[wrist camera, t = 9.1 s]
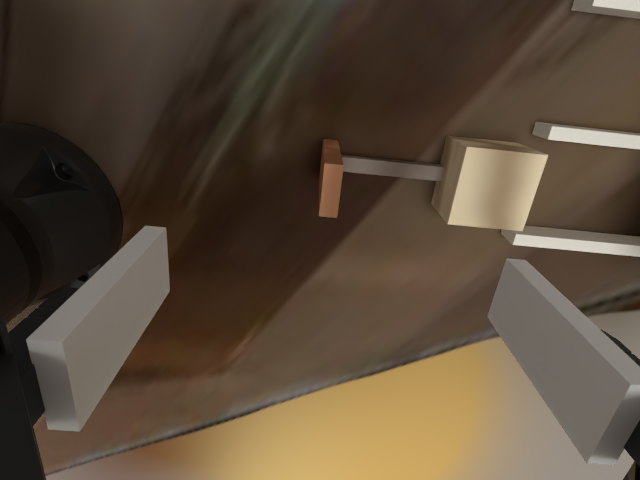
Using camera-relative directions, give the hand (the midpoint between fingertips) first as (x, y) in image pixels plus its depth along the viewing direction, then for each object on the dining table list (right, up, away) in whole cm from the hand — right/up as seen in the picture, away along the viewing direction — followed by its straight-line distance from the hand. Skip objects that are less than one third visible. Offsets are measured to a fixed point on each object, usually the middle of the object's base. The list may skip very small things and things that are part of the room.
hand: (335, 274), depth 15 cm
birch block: (+8, +8, +19) cm, 21 cm away
